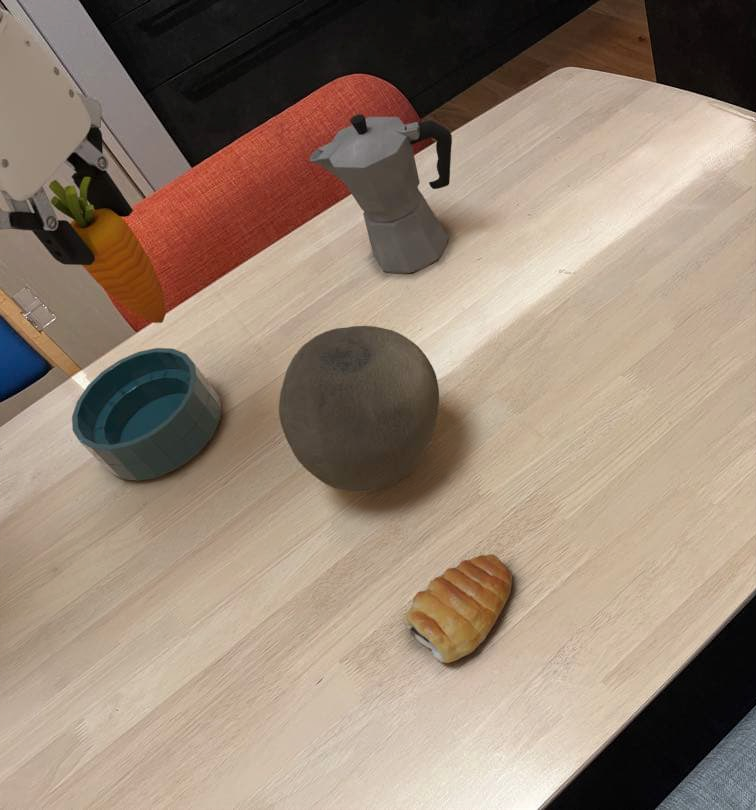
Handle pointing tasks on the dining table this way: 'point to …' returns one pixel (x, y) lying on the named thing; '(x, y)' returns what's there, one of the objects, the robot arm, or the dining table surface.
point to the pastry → (460, 607)
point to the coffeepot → (391, 186)
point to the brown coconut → (359, 407)
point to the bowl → (147, 414)
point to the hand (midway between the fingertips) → (97, 236)
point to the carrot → (113, 253)
